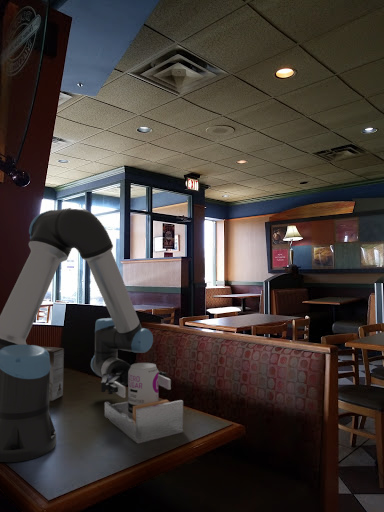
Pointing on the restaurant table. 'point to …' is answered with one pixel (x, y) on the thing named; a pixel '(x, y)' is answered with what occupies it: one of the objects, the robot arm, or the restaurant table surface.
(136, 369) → the supplement can
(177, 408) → the white drawer tray
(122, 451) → the restaurant table surface
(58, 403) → the restaurant table surface
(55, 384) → the coffee box
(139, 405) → the plate
